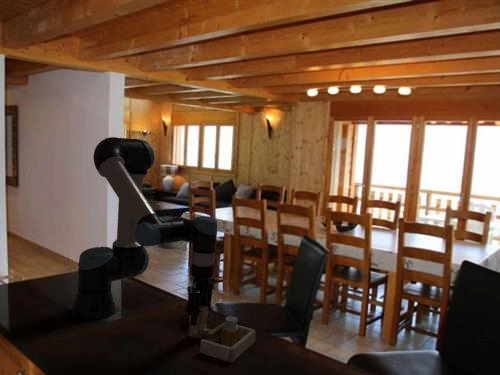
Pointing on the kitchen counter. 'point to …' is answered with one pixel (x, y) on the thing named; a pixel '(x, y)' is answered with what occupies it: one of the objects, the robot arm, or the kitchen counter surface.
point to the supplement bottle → (230, 331)
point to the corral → (229, 352)
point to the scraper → (204, 332)
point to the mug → (208, 313)
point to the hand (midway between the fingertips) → (197, 331)
